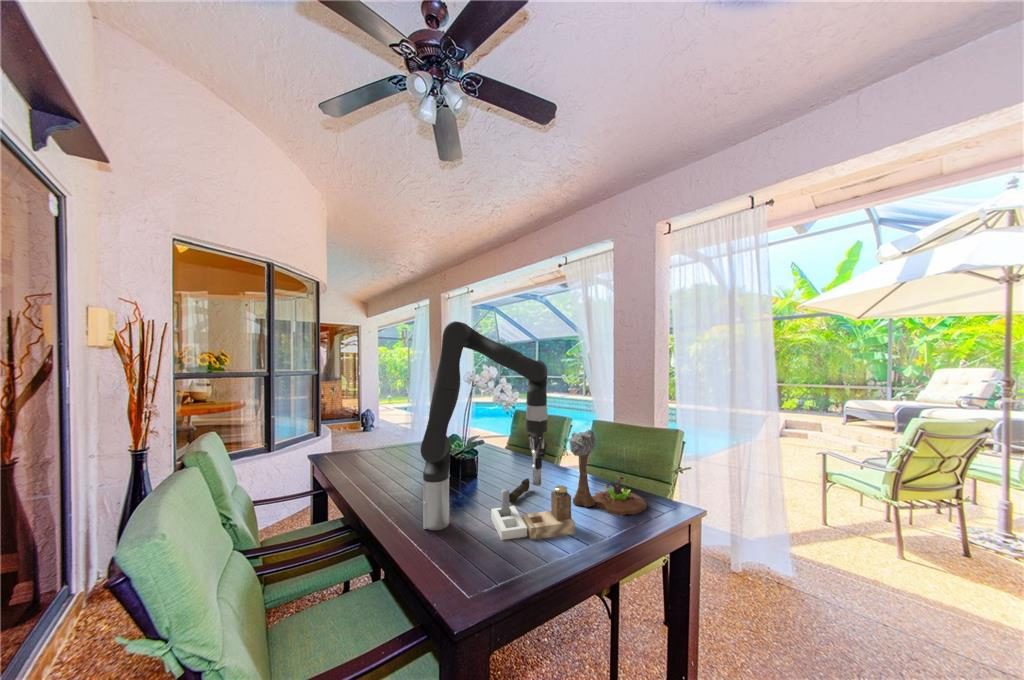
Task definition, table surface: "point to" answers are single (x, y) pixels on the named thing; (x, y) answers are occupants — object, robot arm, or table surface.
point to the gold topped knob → (561, 490)
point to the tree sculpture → (583, 465)
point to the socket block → (551, 519)
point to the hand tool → (519, 491)
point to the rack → (508, 519)
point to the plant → (619, 500)
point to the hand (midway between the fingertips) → (536, 466)
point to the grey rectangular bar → (536, 473)
